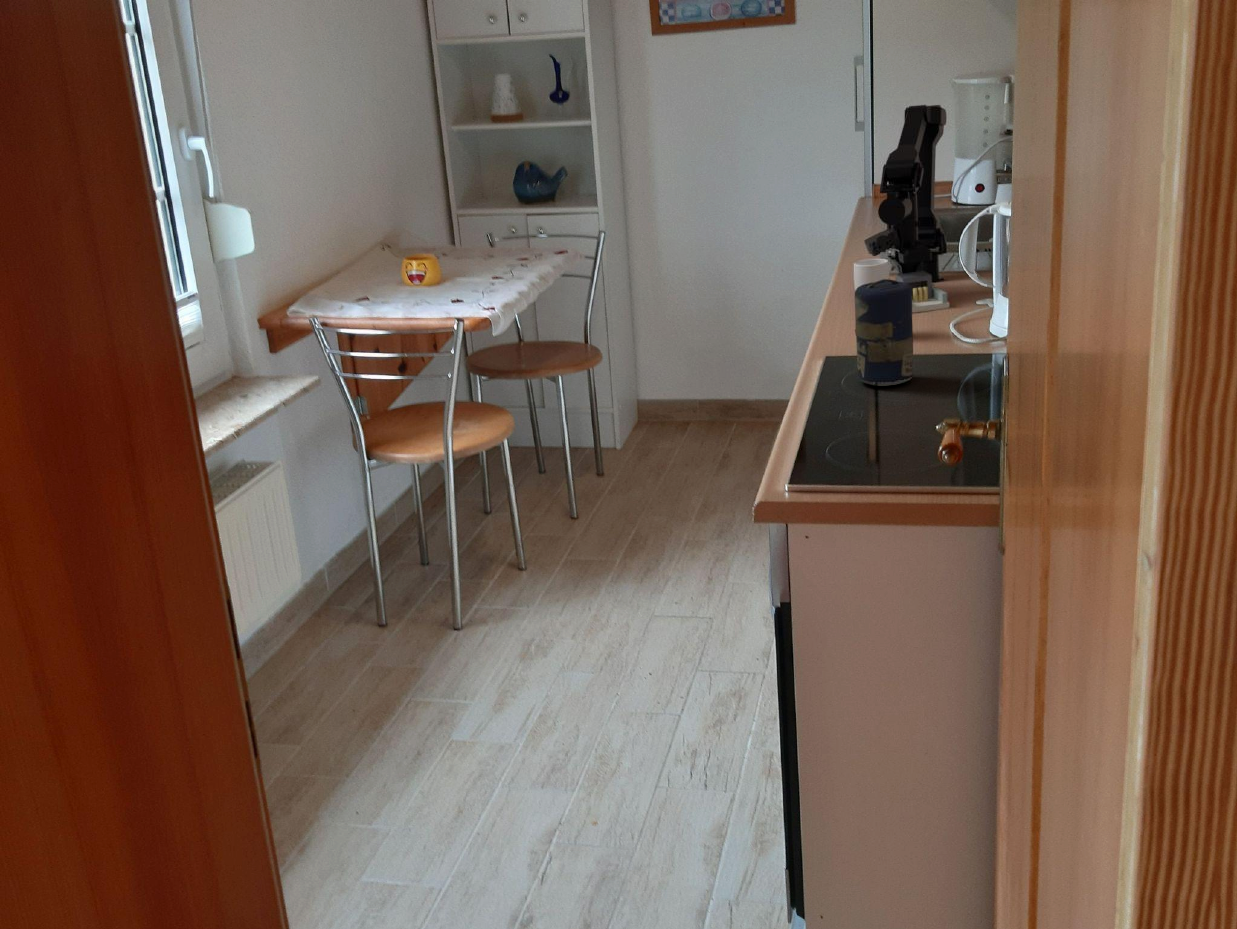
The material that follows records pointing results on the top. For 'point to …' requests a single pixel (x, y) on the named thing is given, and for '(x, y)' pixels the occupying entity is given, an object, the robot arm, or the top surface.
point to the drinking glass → (870, 271)
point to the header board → (925, 304)
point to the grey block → (916, 280)
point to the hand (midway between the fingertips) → (906, 288)
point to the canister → (884, 331)
